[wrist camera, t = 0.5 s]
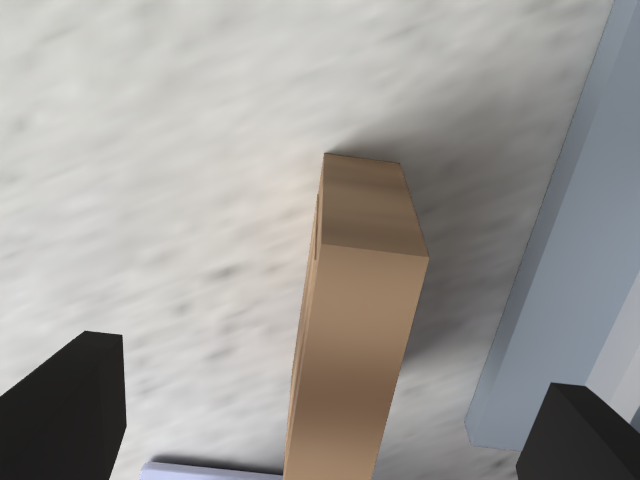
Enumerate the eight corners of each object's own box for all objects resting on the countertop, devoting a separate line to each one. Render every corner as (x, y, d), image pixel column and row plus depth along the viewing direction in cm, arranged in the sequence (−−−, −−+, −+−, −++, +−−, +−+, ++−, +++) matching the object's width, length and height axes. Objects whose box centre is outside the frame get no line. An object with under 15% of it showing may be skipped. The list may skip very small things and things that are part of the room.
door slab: (354, 378, 22) (362, 519, 16) (291, 371, 22) (278, 510, 16) (401, 162, 17) (431, 257, 12) (322, 151, 17) (318, 243, 12)
